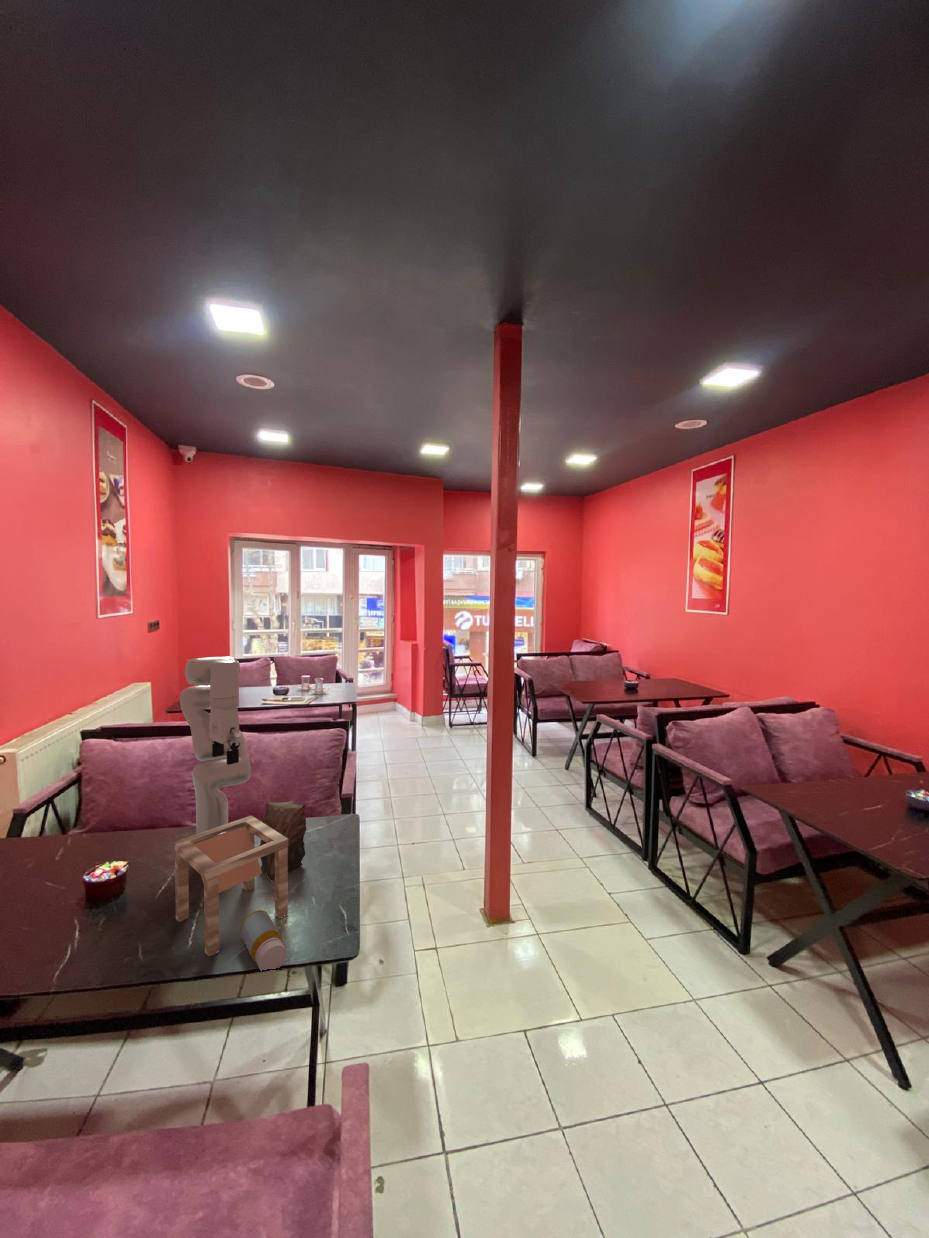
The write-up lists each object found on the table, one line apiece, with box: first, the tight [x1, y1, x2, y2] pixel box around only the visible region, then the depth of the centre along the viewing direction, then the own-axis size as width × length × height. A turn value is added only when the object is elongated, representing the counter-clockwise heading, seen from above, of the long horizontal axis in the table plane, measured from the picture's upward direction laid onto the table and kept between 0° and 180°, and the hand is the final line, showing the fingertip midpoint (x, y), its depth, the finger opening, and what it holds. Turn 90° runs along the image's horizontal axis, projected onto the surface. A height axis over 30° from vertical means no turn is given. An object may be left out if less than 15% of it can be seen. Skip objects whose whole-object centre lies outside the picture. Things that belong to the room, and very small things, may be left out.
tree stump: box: [258, 800, 307, 882], centre depth 153 cm, size 13×13×20 cm
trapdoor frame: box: [173, 815, 289, 957], centre depth 128 cm, size 21×21×21 cm
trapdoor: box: [194, 826, 263, 894], centre depth 130 cm, size 14×14×1 cm
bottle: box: [240, 909, 287, 974], centre depth 115 cm, size 7×7×15 cm
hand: (225, 759), depth 141 cm, fingers open, 9 cm apart
